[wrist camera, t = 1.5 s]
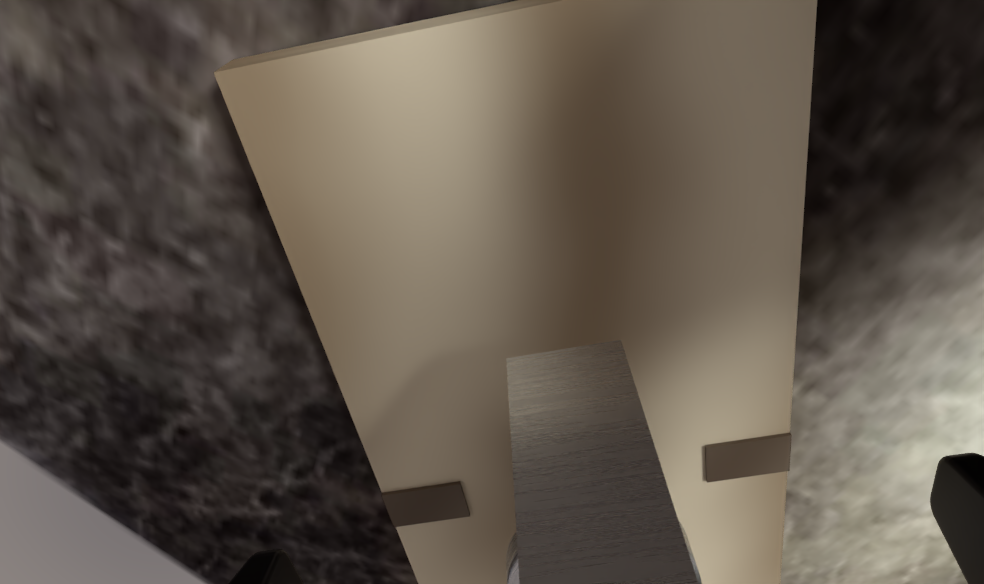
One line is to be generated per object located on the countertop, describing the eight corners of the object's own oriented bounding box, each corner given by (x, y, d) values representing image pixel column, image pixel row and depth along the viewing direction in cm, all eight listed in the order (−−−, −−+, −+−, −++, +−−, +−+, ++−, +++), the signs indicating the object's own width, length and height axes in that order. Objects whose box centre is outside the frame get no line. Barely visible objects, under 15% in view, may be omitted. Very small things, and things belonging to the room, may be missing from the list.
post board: (793, -58, 11) (889, -43, 9) (762, 659, 22) (798, 758, 20) (232, 59, 12) (164, 105, 9) (475, 693, 23) (474, 793, 21)
